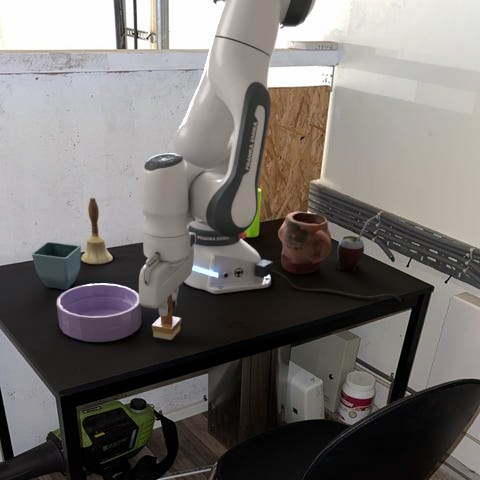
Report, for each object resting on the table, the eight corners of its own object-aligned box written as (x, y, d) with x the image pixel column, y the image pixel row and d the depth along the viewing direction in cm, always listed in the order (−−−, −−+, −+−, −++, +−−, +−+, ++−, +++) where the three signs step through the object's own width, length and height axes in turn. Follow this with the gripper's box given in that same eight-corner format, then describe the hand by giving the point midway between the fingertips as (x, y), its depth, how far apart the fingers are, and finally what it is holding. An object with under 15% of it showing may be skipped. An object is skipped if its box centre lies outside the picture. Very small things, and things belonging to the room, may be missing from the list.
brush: (162, 325, 138) (161, 283, 132) (181, 329, 137) (181, 286, 131) (152, 337, 133) (150, 293, 127) (171, 340, 132) (171, 297, 127)
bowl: (138, 306, 148) (137, 282, 145) (144, 341, 134) (143, 315, 131) (61, 310, 145) (57, 285, 142) (59, 346, 131) (55, 319, 128)
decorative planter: (346, 278, 168) (353, 225, 160) (311, 287, 162) (317, 232, 154) (297, 254, 181) (302, 204, 173) (263, 262, 175) (266, 210, 167)
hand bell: (116, 254, 175) (112, 194, 166) (108, 265, 168) (103, 203, 159) (86, 252, 175) (80, 192, 166) (77, 263, 168) (70, 201, 159)
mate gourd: (329, 265, 175) (336, 210, 166) (352, 261, 178) (360, 206, 169) (346, 275, 170) (354, 218, 161) (369, 270, 173) (379, 214, 164)
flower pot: (70, 294, 152) (66, 258, 147) (36, 290, 153) (30, 253, 148) (85, 280, 159) (81, 245, 154) (52, 276, 160) (47, 241, 155)
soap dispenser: (243, 228, 197) (246, 160, 186) (262, 233, 194) (266, 164, 182) (232, 233, 193) (235, 163, 182) (251, 238, 190) (255, 168, 178)
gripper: (160, 265, 115) (162, 335, 123) (199, 231, 131) (198, 294, 139) (128, 260, 116) (132, 329, 124) (170, 227, 132) (171, 290, 140)
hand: (167, 310), depth 132 cm, fingers closed on brush, 2 cm apart
